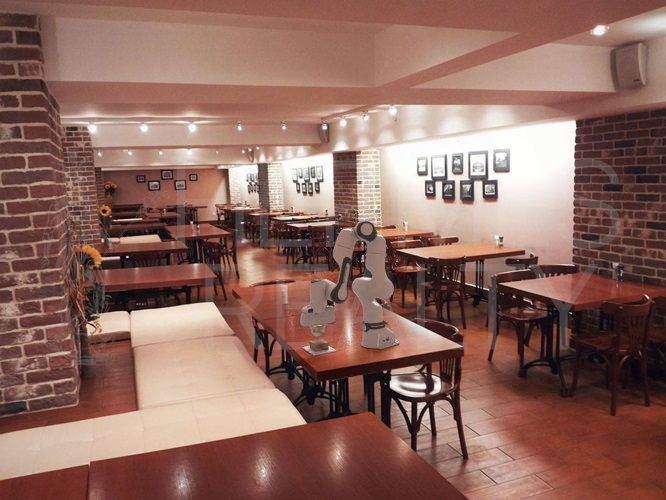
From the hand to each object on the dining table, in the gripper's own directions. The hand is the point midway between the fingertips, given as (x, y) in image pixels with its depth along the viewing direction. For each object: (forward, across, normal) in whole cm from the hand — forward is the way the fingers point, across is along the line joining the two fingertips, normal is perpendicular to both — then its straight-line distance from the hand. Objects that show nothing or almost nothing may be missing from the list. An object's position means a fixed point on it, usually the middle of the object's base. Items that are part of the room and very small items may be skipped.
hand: (318, 331), depth 297 cm
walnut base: (+10, 0, 0) cm, 10 cm away
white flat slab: (+10, 0, 0) cm, 10 cm away
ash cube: (+2, 0, 0) cm, 2 cm away
